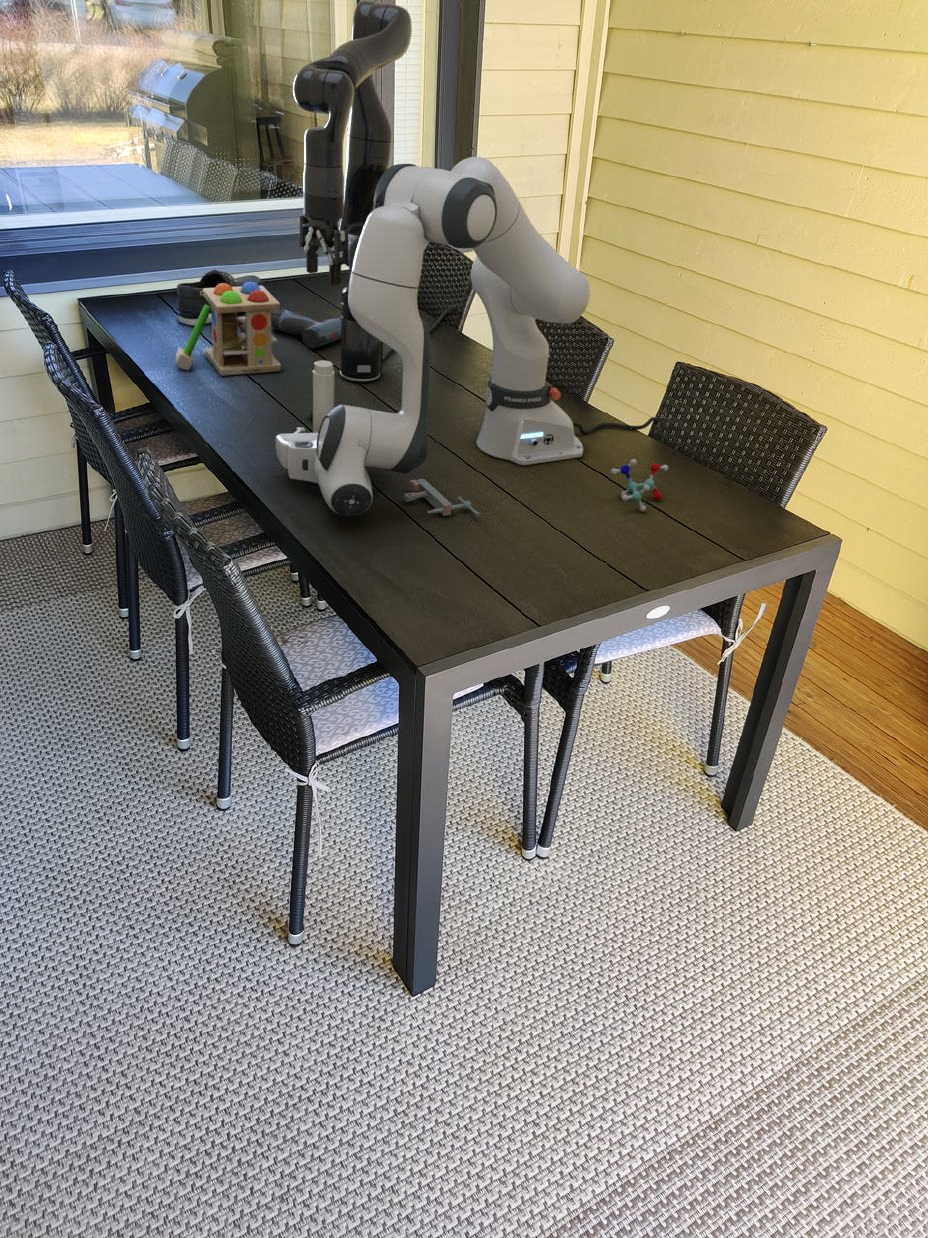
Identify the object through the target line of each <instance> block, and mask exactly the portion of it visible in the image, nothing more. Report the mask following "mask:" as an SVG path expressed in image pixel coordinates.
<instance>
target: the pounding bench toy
mask: <svg viewBox="0 0 928 1238" xmlns="http://www.w3.org/2000/svg"><path fill="white" fill-rule="evenodd" d="M203 296H204V297H205V299H206V300H207V301H208V302H209V304H210V305H211V307H210V306H208V305H204V307H203V309H202V311H201V314H200V316H199V318H198V320H197V322H196V324H195V325H194V327H193V329H192V331H191V332H190V333H191V334H190V336H189V338H188V340H187V343H186V344H185V347H184V348H182V347H180V346H179V347H178V349H177V351H176V354H175V357H174V358H175V362H176V365H177V366H178V368H179V369H182V370H185V371H189V370H190V369H191V367H192V365H193V363H194V356H193V351H194V348H195V347H196V345H197V342H198V340H199V337H200V336H201V333H202V332H203V329H204V326H205V325H206V324H205V322H206V320H207V318H209V320H210V321H211V322H210V323H211V336H212V337H211V338H212V339H211V340H212V348H205V349H204V352H205V353H204V355H205V357H206V359H208V361H209V363H210V364H211V365H212V366H213V367H214V369H215V370H216V371H217V372H218V374H219V375H220V376H222V377H223V376H234V375H235V376H236V375H246V374H247V375H250V374H262V373H275V372H281V370H282V364H281V363H280V362H279V360H278V359H277V358H276V357H275V356H274V355H273V348H272V347H273V345H272V344H276V343H278V342H279V341H278V339H277V338H276V337H275V336H274V334H272V327H271V310H280V309H281V304H280V301H278V300H277V299H276V297H274V296H273V295H272V294H271V293H270V292H269V290H268V289H267V288H266V287H265V286H264V287H263V286H258V285H257V284H256V283H254V282H247V283H245V284H244V285H243V286H242V287H231V286H230V285H228V284H226V283H221V284H218V285H217V286H216V287H215V288H204V289H203ZM210 310H211V314H209V312H210ZM238 313H244V314H245V315H244V316H238ZM238 329H239V331H240V333H239V334H238Z"/></svg>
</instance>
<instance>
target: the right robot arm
mask: <svg viewBox="0 0 928 1238" xmlns="http://www.w3.org/2000/svg"><path fill="white" fill-rule="evenodd" d="M430 242H431V243H435V244H439V245H445V246H446V245H447V246H451V247H452V248H455V249H472V250H473V252H474V254H475V255H476V256H475V258H474V260H473V262H472V265H471V269H470V282H471V286H472V289H473V291H474V292H475V293H476V294H477V296H478V298H479V299H480V301H481V302H482V305H483V306H484V309H485V311H486V314H487V316H488V321H489V325H490V329H491V334H492V335H491V336H492V355H491V356H492V359H491V370H490V371H491V372H490V376H489V377H488V381H487V387H486V391H485V406H486V409H485V413H484V418H483V421H482V425H481V428H480V431H479V434H478V436H477V438H476V441H475V444H476V446H477V447H478V448H479V450H480V451H482V452H483V453H485V454H487V455H489V456H492V457H494V458H499V459H503V460H507V461H510V462H513V463H515V464H517V465H519V466H520V465H521V466H528V465H536V464H542V463H548V462H555V461H562V460H563V461H564V460H569V459H576V458H582V456H583V455H584V446H583V444H582V442H581V440H580V439H579V438H578V437H577V436H576V435H575V429H576V428H578V430H579V432H580V433H581V434H583V435H589V434H591V433H593V432H595V431H597V430H598V429H600V428H605V427H606V428H607V427H609V428H618V429H624V430H632V431H633V430H634V431H638V430H639V431H640V430H644V429H645V428H648V426H650V425H651V424H652V423H653V422H654V423H656V424H658V423H659V420H658V419H657V417H655V416H652V417H650V418H649V419H648V420H647V421H646V422H645V423H643V424H641V425H630V424H629V425H628V424H622V423H617V422H600V423H598V424H595V425H594V426H592V427H591V428H589V429H584V427H583V425H582V424H581V423H579V422H575V421H573V420H572V419H571V417H570V416H569V414H568V413H567V412H566V411H565V410H564V409H562V408H561V407H560V406H559V405H558V404H557V403H555V402H554V401H558V400H559V399H560V398H561V397H562V396H561V394H562V393H561V391H559V389H558V388H556V387H554V386H553V385H552V384H551V383H549V382H548V381H547V379H546V378H547V371H548V363H549V358H550V357H549V356H550V345H549V342H548V341H547V339H546V337H545V336H544V334H543V333H542V331H540V329H539V328H538V325H537V323H536V319H537V320H540V321H543V322H544V323H545V322H546V323H551V324H563V325H569V324H573V323H575V322H576V321H577V320H579V319H580V317H582V315H583V314H584V313H585V312H586V310H587V307H588V305H589V303H590V296H591V287H590V281H589V279H588V277H587V275H585V273H583V272H582V271H580V270H579V269H578V268H576V267H575V266H573V265H572V264H571V263H569V261H567V260H566V259H565V258H564V257H563V256H561V254H560V253H559V252H558V251H557V250H556V249H555V248H554V247H553V246H552V245H551V244H550V243H549V242H548V240H546V239H545V238H544V236H543V235H542V234H540V232H539V231H538V230H537V229H536V228H535V226H534V225H533V223H532V221H531V220H530V218H529V217H528V214H527V213H526V211H525V208H524V207H523V205H522V204H521V202H520V200H519V198H518V196H517V194H516V192H515V191H514V188H513V187H512V186H511V184H510V183H509V181H508V180H507V179H506V177H505V176H504V175H503V173H502V172H501V171H500V170H499V168H498V167H497V166H496V165H495V164H494V163H493V162H492V161H491V160H489V159H487V158H485V157H481V156H470V157H466V158H464V159H462V160H461V161H459V162H458V163H457V164H456V165H454V166H453V168H451V170H447V169H444V168H435V167H429V166H419V165H417V164H414V163H397V164H394V165H391V166H389V168H388V169H387V170H386V171H385V172H384V173H383V175H382V176H381V178H380V180H379V182H378V184H377V187H376V190H375V195H374V210H373V211H372V212H371V213H370V214H369V216H368V217H367V220H366V222H365V225H364V227H363V230H362V233H361V236H360V239H359V242H358V245H357V249H356V253H355V257H354V261H353V266H352V272H351V276H350V282H349V291H348V305H349V308H350V311H351V313H352V315H353V317H354V319H355V320H356V321H357V323H358V324H359V325H360V326H361V327H362V328H363V329H364V330H366V331H367V332H368V333H370V334H371V335H372V336H374V337H375V338H377V339H379V340H380V341H382V342H383V344H385V345H386V346H388V347H390V349H391V348H392V349H393V350H395V351H394V352H395V353H396V354H397V355H398V356H399V358H400V360H401V363H402V386H401V387H402V390H401V409H400V410H399V411H398V412H395V413H394V412H388V411H382V410H376V409H369V408H366V407H360V406H354V405H347V404H338V405H337V406H334V409H333V410H331V411H330V412H329V413H328V414H327V415H326V416H325V417H324V418H323V420H322V422H321V425H320V428H319V432H318V433H313V432H306V428H305V427H303V426H302V427H300V426H299V427H298V426H297V427H296V430H295V431H294V432H293V433H292V432H291V433H279V434H277V435H275V454H276V456H277V459H278V461H279V463H280V465H281V466H282V467H283V468H284V469H286V470H287V472H288V477H289V479H291V480H295V481H296V480H297V481H304V482H305V481H306V482H310V483H314V484H318V487H319V490H320V493H321V495H322V497H323V500H324V501H325V503H326V505H328V507H329V508H330V510H332V511H333V512H334V513H336V514H337V515H339V516H343V517H356V516H359V515H361V514H363V513H365V512H366V511H367V510H368V509H369V508H370V507H371V505H372V502H373V497H374V496H373V495H374V493H373V485H372V482H371V478H370V475H369V473H368V471H367V468H366V467H371V468H378V469H385V470H387V471H390V472H394V473H399V474H403V475H407V474H409V473H411V472H413V471H415V470H416V469H417V468H419V467H420V466H422V465H423V464H424V462H425V461H426V458H427V455H428V450H429V428H428V427H429V425H428V411H429V410H428V409H429V408H428V407H429V389H430V369H431V368H430V367H431V337H430V333H429V330H428V329H429V326H428V324H427V322H425V321H424V320H423V319H422V318H421V316H420V312H419V308H418V292H419V288H420V287H419V286H420V281H421V276H422V269H423V268H422V267H423V261H424V252H425V250H426V249H427V247H428V245H429V244H430ZM655 419H657V420H655ZM631 428H632V429H631Z"/></svg>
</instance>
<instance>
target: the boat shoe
mask: <svg viewBox="0 0 928 1238" xmlns="http://www.w3.org/2000/svg"><path fill="white" fill-rule="evenodd" d="M247 282H254V283H256V284H257V285H258V286H263V287H264V288H265V285H264V283H263V281H262V279H261V278H260V276H257V275H253V274H252V275H244V276H238V277H234V276H232V275H231V274H230V273H228V272H226V271H222V270H218V269H212V270H209V271H208V272H206V273H205V274H203V276H202V277H201V278H200V280H199V281H193V282H181V283H178V284H177V285H176V290H177V300H176V301H177V305H176V307H175V308H176V311H178V321H179V322H180V323H182V324H184V325H187V326H195V324H196V322H197V320H198V318H199V316H200V314H201V311H202V309H203V307H204V305H208V306H210V307H211V305H210V304H209V302H208V301H207V300H206V299H205V297H204V296H203V289H204V288H215V287H216V286H217V285H218V284H221V283H226V284H228V285H230V286H231V287H242V286H243V285H244V284H245V283H247ZM209 314H211V310H210V312H209ZM210 323H212V322H211V321H210V320H209V318H207V320H206V322H205V325H208V324H210Z"/></svg>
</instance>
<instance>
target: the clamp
mask: <svg viewBox="0 0 928 1238" xmlns="http://www.w3.org/2000/svg"><path fill="white" fill-rule="evenodd" d="M408 482H409V484H408V491H409V492H406V493H404V494H403V499H404V501H406V502H413V501H416V500H417V499H422V498H423V499H425V500H426V501H427V502H428V503H429V504H430V505H431V506H432V507H433V509H430V510H427V511H426V513H427V514H428V515H429V514H439V513H440V514H441V515H442V517H447V516H452V511H454V510H459V509H463V510H466V509H469V510H470V511H471V512H472V513H473V514H475V517H476V518H480V516H481V512H479V511H477V510H475V509H474V508H473V507H472V502H471V501H470V500H466V501H465V500H464V499H463V497H462V496H457V498H456V500H457V502H460V503H458V504H452V503H451V501H449V500H448V499H447V498H446V497H445V496H444V495H443V494H441V493H440V491H438V490H437V489H436V488H435V487H434V486H433V485H431V484H430V483H429V481H427V480H426V479H425V478H419V479H417V480H416V479H412V480H409V481H408Z"/></svg>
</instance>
